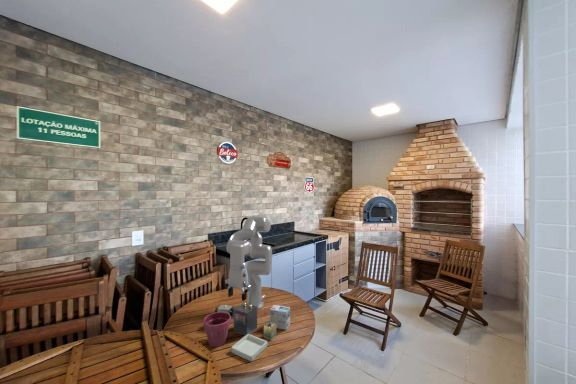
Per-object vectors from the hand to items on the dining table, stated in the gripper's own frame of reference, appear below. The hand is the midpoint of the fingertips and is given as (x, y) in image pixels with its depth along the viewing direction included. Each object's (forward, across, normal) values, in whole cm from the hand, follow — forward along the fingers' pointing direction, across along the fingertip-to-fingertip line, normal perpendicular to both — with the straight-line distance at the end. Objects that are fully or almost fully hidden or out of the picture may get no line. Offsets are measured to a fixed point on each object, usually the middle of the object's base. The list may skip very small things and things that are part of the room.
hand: (237, 298), depth 133 cm
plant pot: (+23, +8, +6) cm, 25 cm away
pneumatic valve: (+23, +16, -8) cm, 29 cm away
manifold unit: (+23, +2, -10) cm, 25 cm away
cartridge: (+23, -14, -12) cm, 29 cm away
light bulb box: (+23, -13, -24) cm, 35 cm away
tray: (+23, -11, +2) cm, 25 cm away
